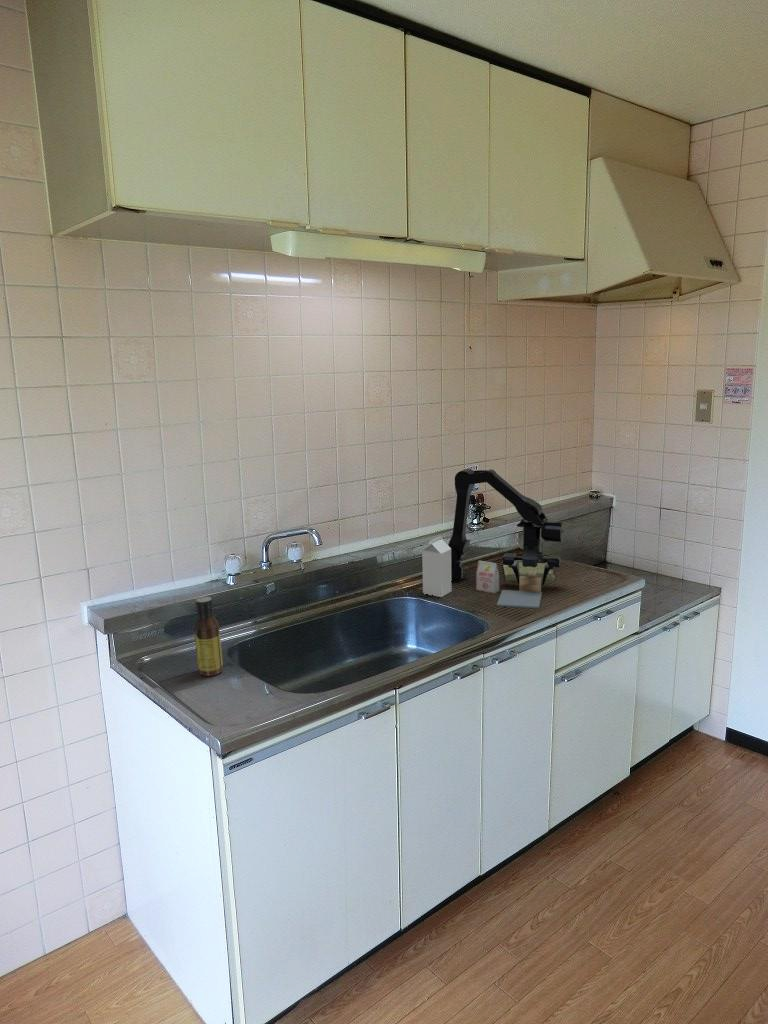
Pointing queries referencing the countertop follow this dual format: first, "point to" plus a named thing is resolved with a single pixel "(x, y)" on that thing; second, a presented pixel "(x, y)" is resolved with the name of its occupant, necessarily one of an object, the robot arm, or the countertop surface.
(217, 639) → the sauce bottle
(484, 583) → the paper bag
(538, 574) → the decorative tile
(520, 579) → the wooden t-shaped block
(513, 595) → the tool mat
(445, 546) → the milk carton
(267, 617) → the countertop surface
